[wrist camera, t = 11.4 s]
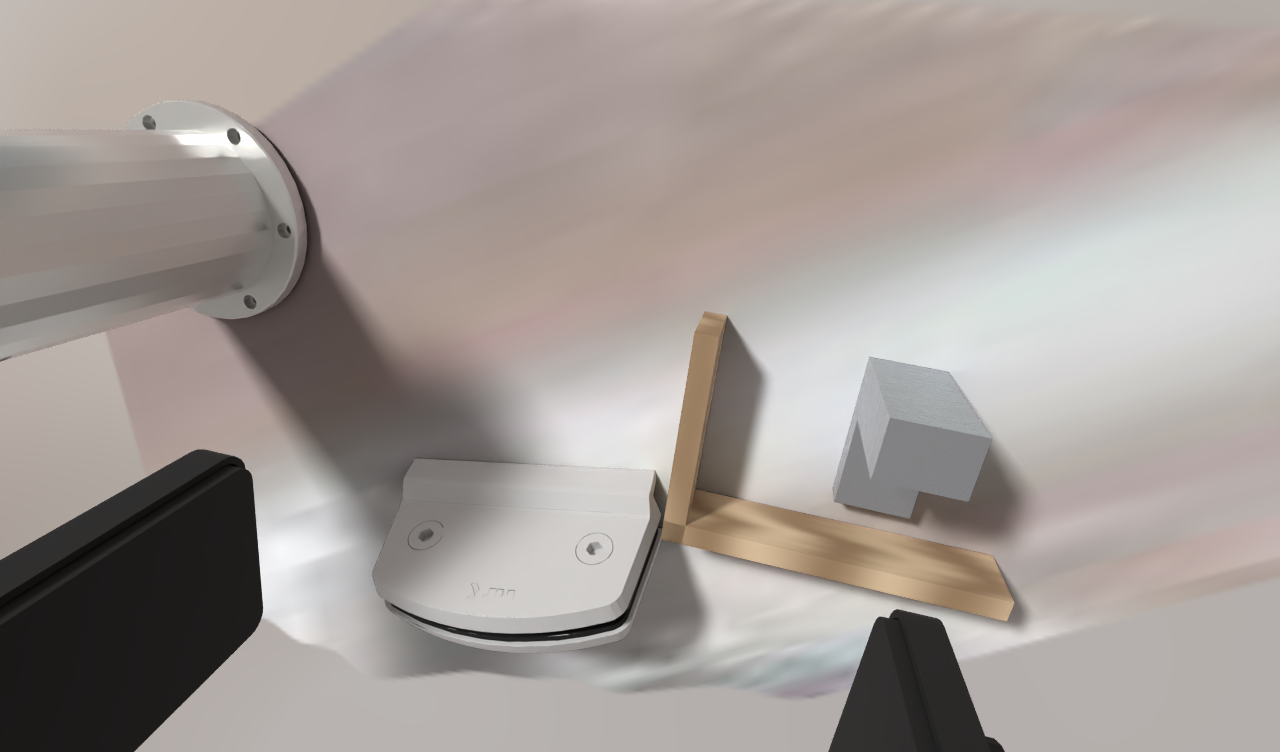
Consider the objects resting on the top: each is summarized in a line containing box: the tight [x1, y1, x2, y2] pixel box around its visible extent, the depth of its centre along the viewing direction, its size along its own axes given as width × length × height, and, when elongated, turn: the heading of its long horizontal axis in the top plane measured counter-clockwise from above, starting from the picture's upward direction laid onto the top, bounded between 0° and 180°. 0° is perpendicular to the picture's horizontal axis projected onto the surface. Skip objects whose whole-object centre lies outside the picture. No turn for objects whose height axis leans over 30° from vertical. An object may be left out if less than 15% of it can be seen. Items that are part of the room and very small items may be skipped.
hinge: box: [373, 458, 662, 653], centre depth 39 cm, size 17×5×10 cm, turn 94°
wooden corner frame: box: [661, 312, 1014, 622], centre depth 34 cm, size 18×12×4 cm, turn 83°
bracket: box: [833, 357, 992, 519], centre depth 32 cm, size 8×4×8 cm, turn 172°
